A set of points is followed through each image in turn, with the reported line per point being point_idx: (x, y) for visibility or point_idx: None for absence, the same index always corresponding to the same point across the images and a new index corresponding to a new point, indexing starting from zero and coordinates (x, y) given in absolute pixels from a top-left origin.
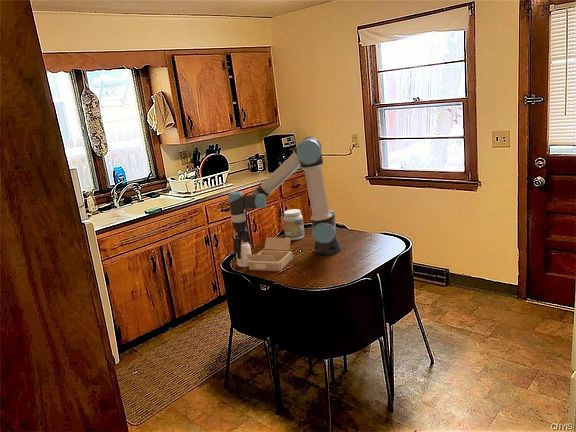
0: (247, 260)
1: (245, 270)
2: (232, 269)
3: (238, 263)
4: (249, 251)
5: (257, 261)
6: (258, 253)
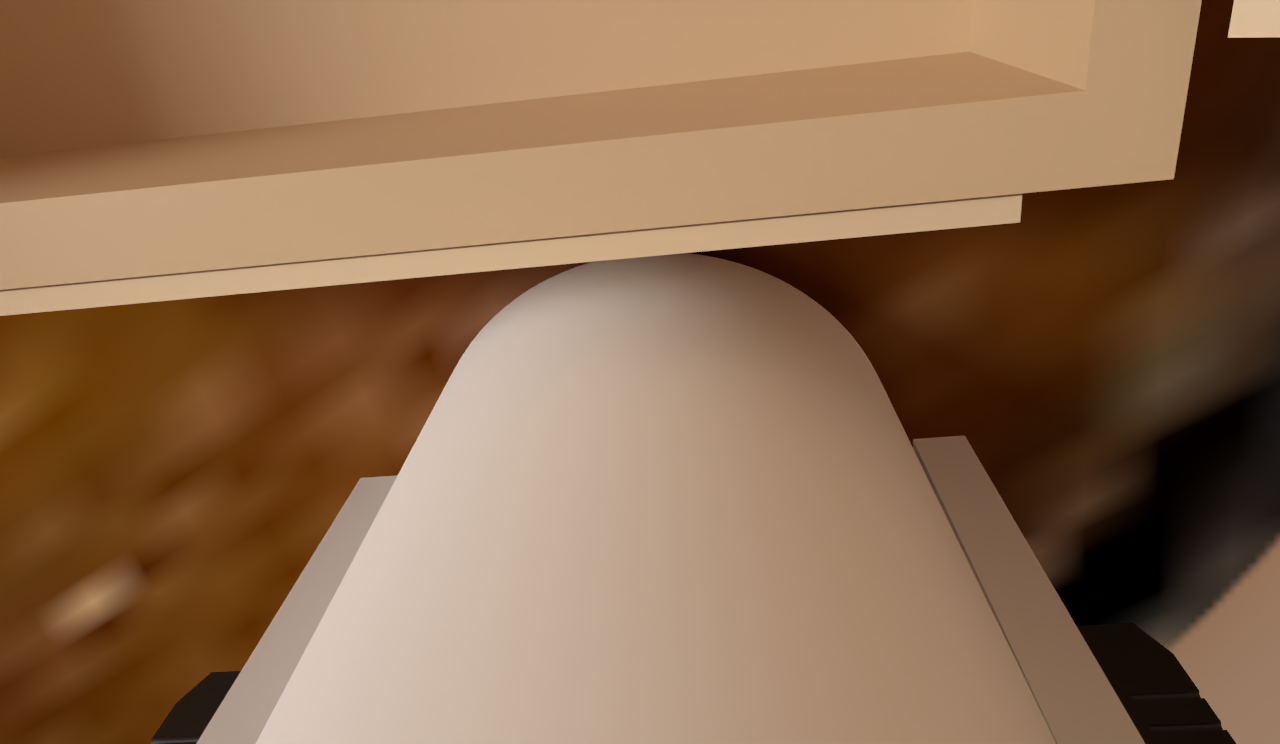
0: (828, 374)
1: (1085, 210)
2: None
3: None
4: (657, 541)
5: (463, 114)
6: (84, 278)
